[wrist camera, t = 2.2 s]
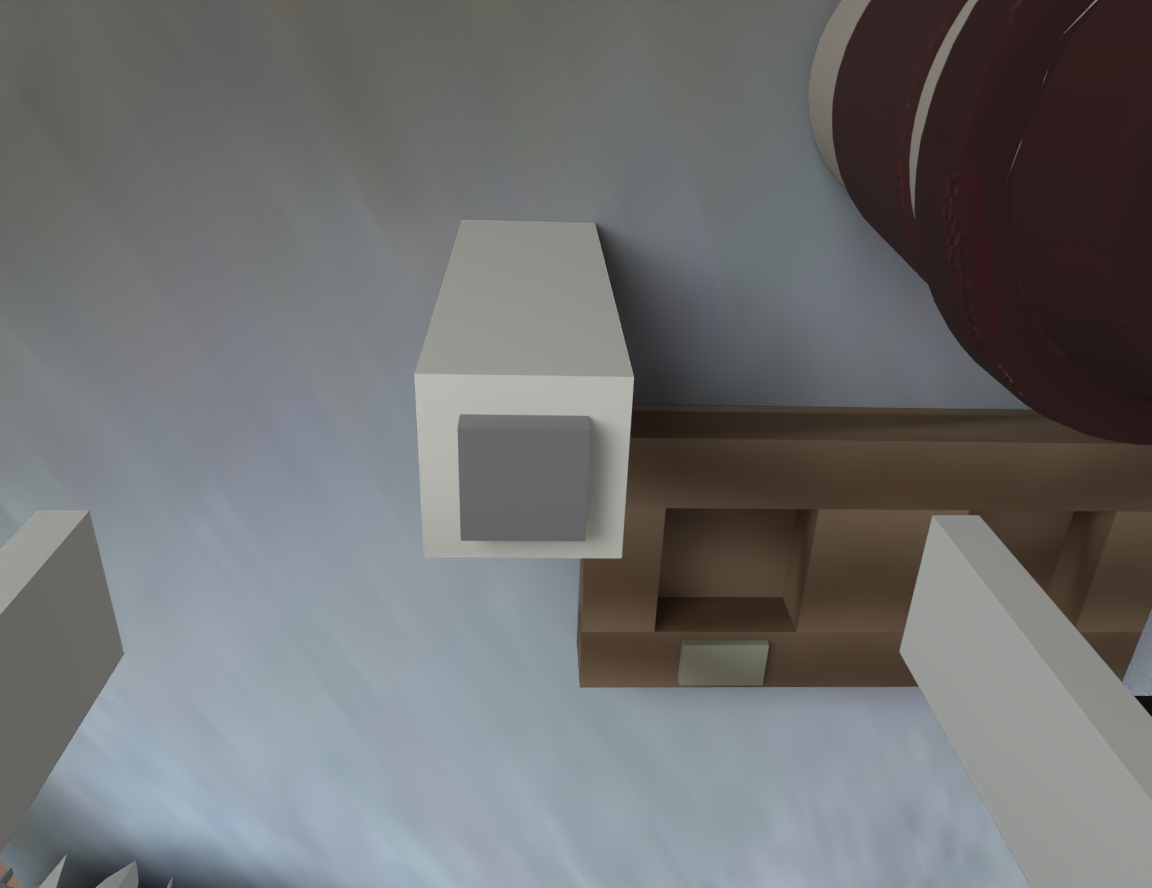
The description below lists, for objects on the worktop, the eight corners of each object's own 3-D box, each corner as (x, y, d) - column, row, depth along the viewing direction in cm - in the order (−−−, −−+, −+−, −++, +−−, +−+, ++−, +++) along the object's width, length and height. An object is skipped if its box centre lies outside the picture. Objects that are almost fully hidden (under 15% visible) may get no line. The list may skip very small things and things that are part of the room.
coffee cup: (1144, 140, 27) (1751, 296, 13) (839, 309, 29) (1102, 590, 15) (1043, -210, 23) (1769, -487, 9) (696, 15, 25) (886, 51, 11)
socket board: (587, 403, 30) (592, 442, 27) (1167, 412, 31) (1223, 449, 28) (577, 642, 34) (580, 693, 32) (1083, 641, 35) (1125, 691, 33)
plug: (461, 219, 27) (410, 386, 16) (594, 222, 27) (637, 389, 16) (464, 345, 29) (420, 574, 18) (589, 347, 29) (624, 575, 18)
